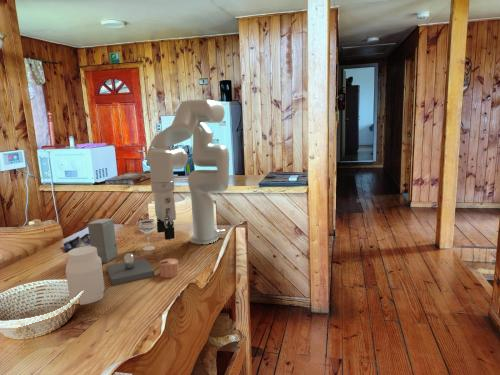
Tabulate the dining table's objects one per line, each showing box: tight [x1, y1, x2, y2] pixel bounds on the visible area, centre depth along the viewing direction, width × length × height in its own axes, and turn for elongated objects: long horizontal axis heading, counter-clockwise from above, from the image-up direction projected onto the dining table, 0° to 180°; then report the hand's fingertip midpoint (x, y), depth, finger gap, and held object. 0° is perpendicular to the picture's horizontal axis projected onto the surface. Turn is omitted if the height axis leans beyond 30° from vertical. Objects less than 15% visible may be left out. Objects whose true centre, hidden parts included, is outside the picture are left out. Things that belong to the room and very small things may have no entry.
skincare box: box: [87, 218, 118, 264], centre depth 149 cm, size 8×7×16 cm
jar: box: [65, 245, 105, 306], centre depth 118 cm, size 12×10×15 cm
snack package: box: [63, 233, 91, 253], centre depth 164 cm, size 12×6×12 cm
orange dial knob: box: [158, 258, 180, 279], centre depth 133 cm, size 6×6×5 cm
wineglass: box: [138, 218, 156, 251], centre depth 160 cm, size 7×7×12 cm
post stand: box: [106, 252, 155, 286], centre depth 135 cm, size 14×14×7 cm
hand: (165, 235), depth 131 cm, fingers open, 9 cm apart
